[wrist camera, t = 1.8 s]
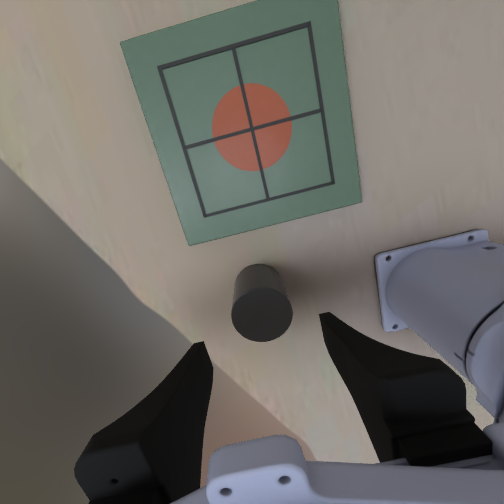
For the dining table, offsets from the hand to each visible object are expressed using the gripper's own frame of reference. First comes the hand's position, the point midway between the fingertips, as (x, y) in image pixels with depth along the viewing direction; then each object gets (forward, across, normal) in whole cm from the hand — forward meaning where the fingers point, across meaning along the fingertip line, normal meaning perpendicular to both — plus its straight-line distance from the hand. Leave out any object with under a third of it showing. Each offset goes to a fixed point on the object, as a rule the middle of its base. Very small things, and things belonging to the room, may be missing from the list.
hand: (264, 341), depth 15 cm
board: (+8, -2, -12) cm, 15 cm away
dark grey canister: (+8, 0, 0) cm, 8 cm away
